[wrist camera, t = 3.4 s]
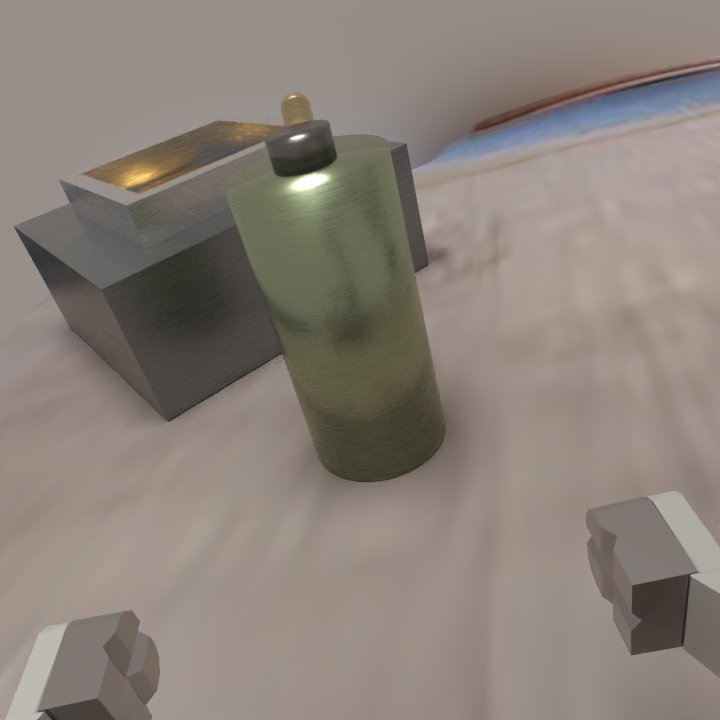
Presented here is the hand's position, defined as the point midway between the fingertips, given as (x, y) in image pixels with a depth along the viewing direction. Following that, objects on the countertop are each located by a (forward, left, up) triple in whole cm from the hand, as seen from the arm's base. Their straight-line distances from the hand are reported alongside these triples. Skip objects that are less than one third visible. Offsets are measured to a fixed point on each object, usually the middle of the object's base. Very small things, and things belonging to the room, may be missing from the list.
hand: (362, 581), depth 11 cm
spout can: (-7, -10, -7) cm, 14 cm away
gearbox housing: (-10, -27, -7) cm, 30 cm away
